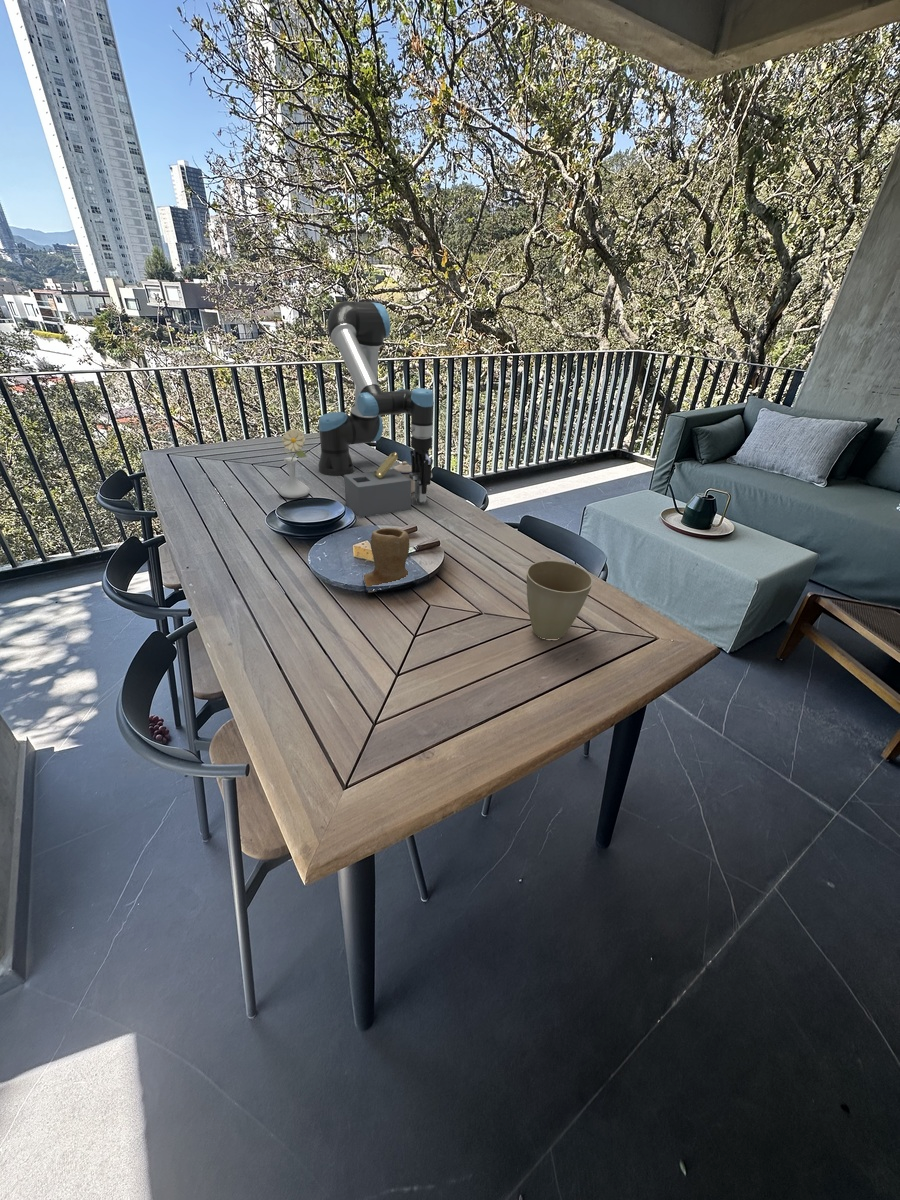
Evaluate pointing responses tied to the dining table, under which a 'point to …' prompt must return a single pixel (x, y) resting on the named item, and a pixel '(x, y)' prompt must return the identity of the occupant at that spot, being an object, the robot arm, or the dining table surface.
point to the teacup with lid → (406, 472)
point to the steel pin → (417, 477)
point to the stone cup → (388, 556)
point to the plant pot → (555, 596)
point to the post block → (377, 493)
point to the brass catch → (386, 465)
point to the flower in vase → (293, 465)
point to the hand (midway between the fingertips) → (420, 499)
